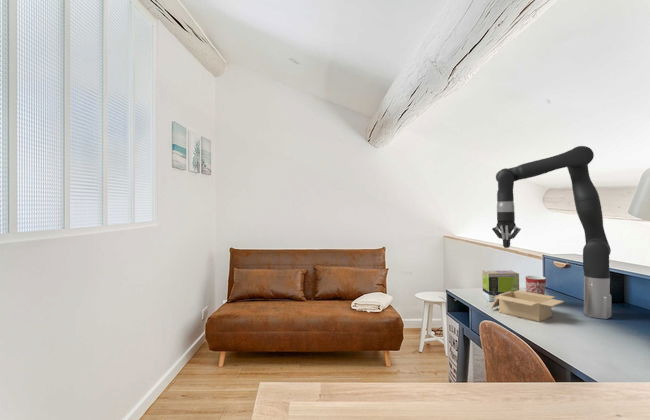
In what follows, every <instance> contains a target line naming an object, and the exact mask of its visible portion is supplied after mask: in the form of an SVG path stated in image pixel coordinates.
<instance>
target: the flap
mask: <svg viewBox="0 0 650 420" xmlns="http://www.w3.org/2000/svg"><path fill="white" fill-rule="evenodd" d="M509 292H511V291H509ZM509 292H505V293H509ZM505 293H502V294H505ZM502 294H499V295H502ZM499 295H498V296H499ZM497 307H499V299H495V301H494V302H492V305H490V309H493V308H497Z"/></svg>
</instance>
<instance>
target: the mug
mask: <svg viewBox="0 0 650 420" xmlns="http://www.w3.org/2000/svg"><path fill="white" fill-rule="evenodd" d="M546 281H547V277H545V276H541V275H525V292H531V293H536V294H542V295H546Z"/></svg>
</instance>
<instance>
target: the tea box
mask: <svg viewBox="0 0 650 420" xmlns="http://www.w3.org/2000/svg"><path fill="white" fill-rule="evenodd" d="M518 290H519V291H520V274H519V272H516V271H514V270H512V269H511V270H510V269H509V270H508V269H507V270H506V269H504V270H503V269H502V270H500V269H499V270H498V269H497V270H495V269H493V270H492V269H490V270H488V269H487V270H482V297H483V299H485V300H486V301H487V302H489V303H490V302H491V303H494V301H495V299H496V298H495V297H497V296H498V295H499V294H502V293H505V292H509V291H511V292H512V291H513V292H515V291H518Z"/></svg>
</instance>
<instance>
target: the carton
mask: <svg viewBox="0 0 650 420" xmlns="http://www.w3.org/2000/svg"><path fill="white" fill-rule="evenodd" d="M495 298H496V299H499V306H498V307H499V308H498V311H499V313H500V314H503V315H508V316H512V317H516V318H520V319H525V320H529V321H533V322H537V323H539V322H543V321H544V320H547V319H549V318H552V307H555V306H558V305H560V304H563V303H565V301H564V300H558V299H555V298H556V296H552V295H548V294H547V295H546V294H545V295H542V294H536V293H531V292H526V290H525V291H524V290H520V289H519V290H518V291H515V292H513V291H512V292H509V293H505V294H502V295H499V296H497V297H495Z"/></svg>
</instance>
